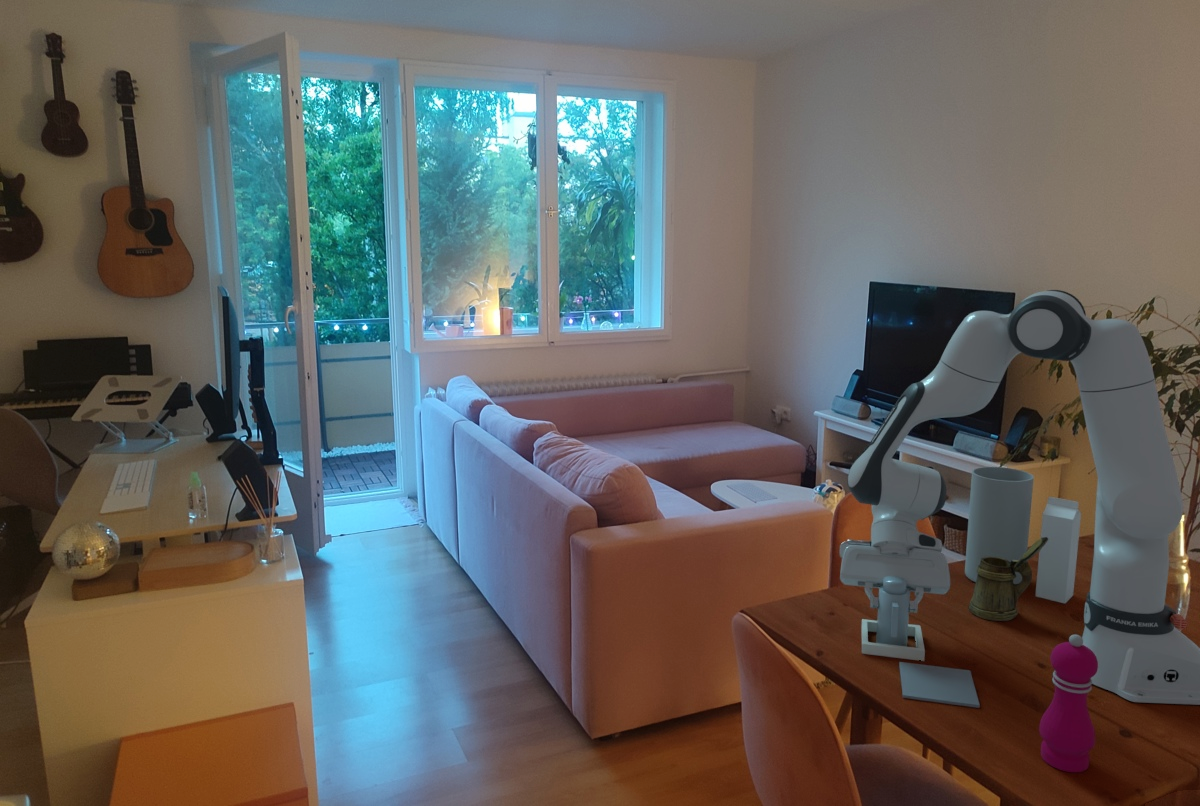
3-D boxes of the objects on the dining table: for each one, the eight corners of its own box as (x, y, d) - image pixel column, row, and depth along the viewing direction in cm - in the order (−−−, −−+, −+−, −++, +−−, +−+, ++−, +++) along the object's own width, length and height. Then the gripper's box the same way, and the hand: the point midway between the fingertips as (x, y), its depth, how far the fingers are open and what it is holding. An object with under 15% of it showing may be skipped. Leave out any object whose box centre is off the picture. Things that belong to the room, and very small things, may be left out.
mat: (970, 673, 149) (970, 670, 149) (979, 708, 138) (979, 705, 138) (899, 664, 152) (899, 661, 152) (902, 697, 141) (903, 694, 141)
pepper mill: (1064, 779, 119) (1077, 649, 116) (1025, 750, 126) (1036, 627, 122) (1104, 769, 121) (1118, 642, 117) (1064, 742, 128) (1076, 621, 124)
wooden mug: (1039, 630, 165) (1047, 544, 162) (966, 615, 172) (972, 533, 169) (1042, 613, 173) (1049, 530, 170) (971, 600, 180) (977, 520, 176)
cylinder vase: (984, 564, 200) (992, 464, 195) (1035, 581, 189) (1045, 475, 185) (953, 576, 193) (960, 472, 188) (1004, 594, 183) (1013, 484, 178)
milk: (1043, 588, 185) (1051, 493, 182) (1073, 595, 181) (1082, 498, 178) (1034, 596, 181) (1043, 499, 177) (1065, 604, 177) (1074, 504, 173)
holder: (919, 634, 164) (920, 625, 163) (924, 661, 153) (924, 651, 153) (861, 628, 167) (861, 619, 167) (862, 653, 157) (862, 643, 156)
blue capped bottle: (906, 639, 162) (909, 576, 160) (908, 658, 154) (912, 593, 152) (875, 635, 164) (879, 573, 161) (877, 655, 156) (880, 590, 154)
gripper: (840, 531, 166) (837, 597, 159) (950, 540, 160) (952, 609, 153) (839, 545, 171) (836, 609, 164) (946, 554, 165) (948, 621, 158)
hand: (893, 609), depth 158 cm, fingers closed on blue capped bottle, 6 cm apart
